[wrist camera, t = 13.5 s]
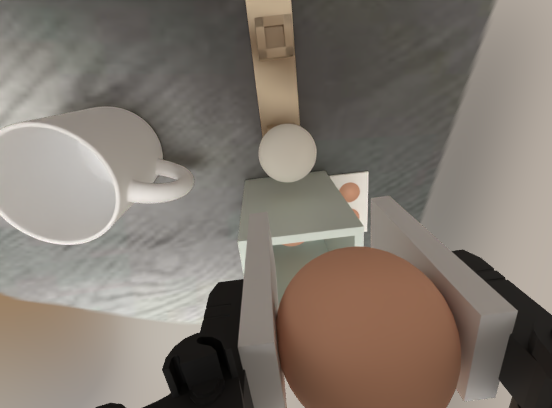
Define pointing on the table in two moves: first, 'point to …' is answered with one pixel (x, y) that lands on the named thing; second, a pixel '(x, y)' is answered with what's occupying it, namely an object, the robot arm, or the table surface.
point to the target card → (354, 192)
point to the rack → (274, 61)
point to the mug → (82, 173)
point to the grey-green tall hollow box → (299, 221)
